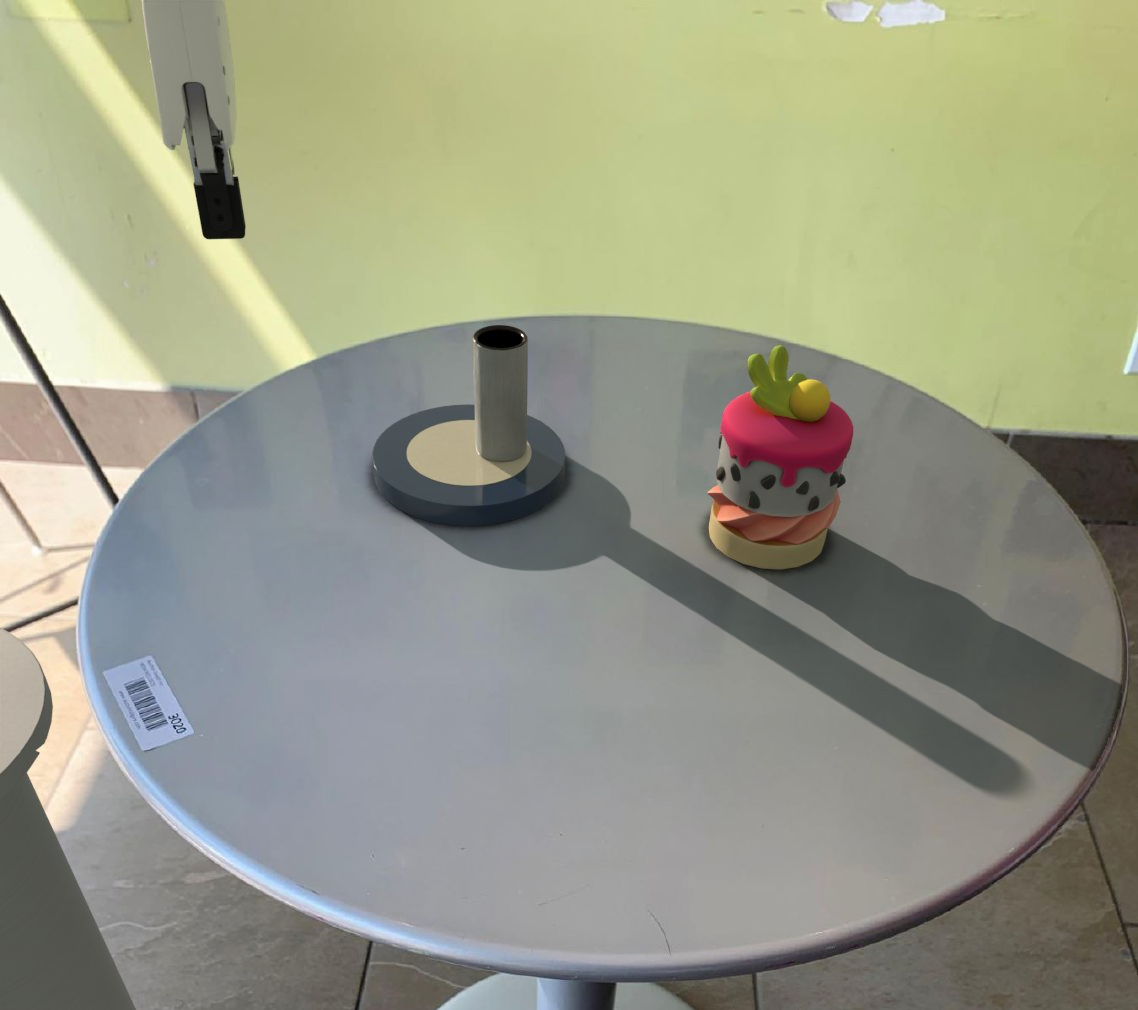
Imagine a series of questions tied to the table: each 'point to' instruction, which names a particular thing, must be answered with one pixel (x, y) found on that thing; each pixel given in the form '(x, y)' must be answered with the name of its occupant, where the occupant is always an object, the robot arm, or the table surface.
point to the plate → (464, 470)
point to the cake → (778, 468)
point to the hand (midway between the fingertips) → (225, 234)
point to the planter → (500, 392)
